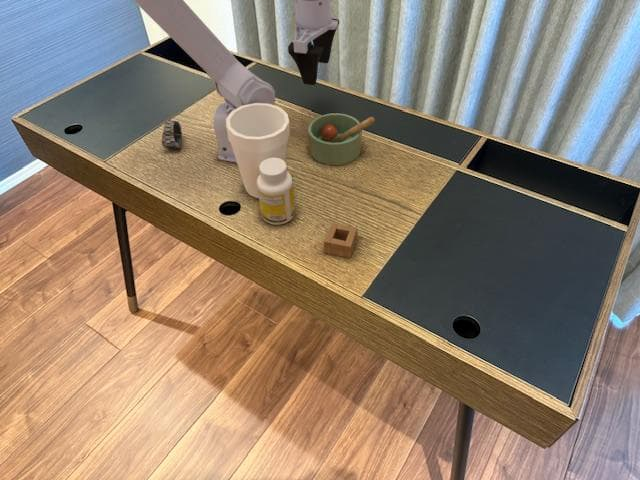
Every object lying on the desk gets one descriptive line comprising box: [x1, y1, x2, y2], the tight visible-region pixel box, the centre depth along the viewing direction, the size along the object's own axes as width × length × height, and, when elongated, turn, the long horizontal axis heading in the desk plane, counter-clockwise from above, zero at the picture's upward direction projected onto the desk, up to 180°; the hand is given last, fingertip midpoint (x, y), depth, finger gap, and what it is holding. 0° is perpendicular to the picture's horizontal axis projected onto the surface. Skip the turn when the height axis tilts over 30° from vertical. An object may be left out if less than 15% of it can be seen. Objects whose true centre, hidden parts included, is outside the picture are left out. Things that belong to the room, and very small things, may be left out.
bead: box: [321, 124, 337, 141], centre depth 89 cm, size 3×3×3 cm
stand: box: [323, 222, 359, 259], centre depth 72 cm, size 4×4×2 cm
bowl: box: [307, 112, 363, 166], centre depth 87 cm, size 9×9×4 cm
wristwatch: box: [161, 120, 183, 150], centre depth 90 cm, size 3×5×5 cm
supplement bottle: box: [257, 158, 296, 226], centre depth 74 cm, size 5×5×10 cm
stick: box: [330, 116, 376, 143], centre depth 85 cm, size 1×1×10 cm
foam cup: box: [226, 103, 291, 199], centre depth 77 cm, size 10×9×13 cm
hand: (316, 72), depth 87 cm, fingers open, 7 cm apart
